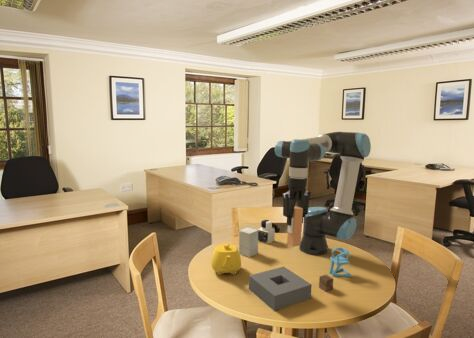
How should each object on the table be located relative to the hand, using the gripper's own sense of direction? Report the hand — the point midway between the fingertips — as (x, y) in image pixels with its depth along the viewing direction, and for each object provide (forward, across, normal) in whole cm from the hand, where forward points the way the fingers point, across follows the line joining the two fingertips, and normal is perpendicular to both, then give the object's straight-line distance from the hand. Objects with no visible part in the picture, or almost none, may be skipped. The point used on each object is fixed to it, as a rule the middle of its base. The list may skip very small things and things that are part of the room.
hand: (294, 231), depth 145 cm
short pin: (+23, -10, +10) cm, 28 cm away
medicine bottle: (+23, -18, -46) cm, 55 cm away
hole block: (+24, +10, +4) cm, 26 cm away
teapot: (+24, +20, -23) cm, 39 cm away
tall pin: (+6, 0, 0) cm, 6 cm away
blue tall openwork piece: (+23, -26, +3) cm, 35 cm away
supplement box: (+24, 0, -36) cm, 43 cm away
